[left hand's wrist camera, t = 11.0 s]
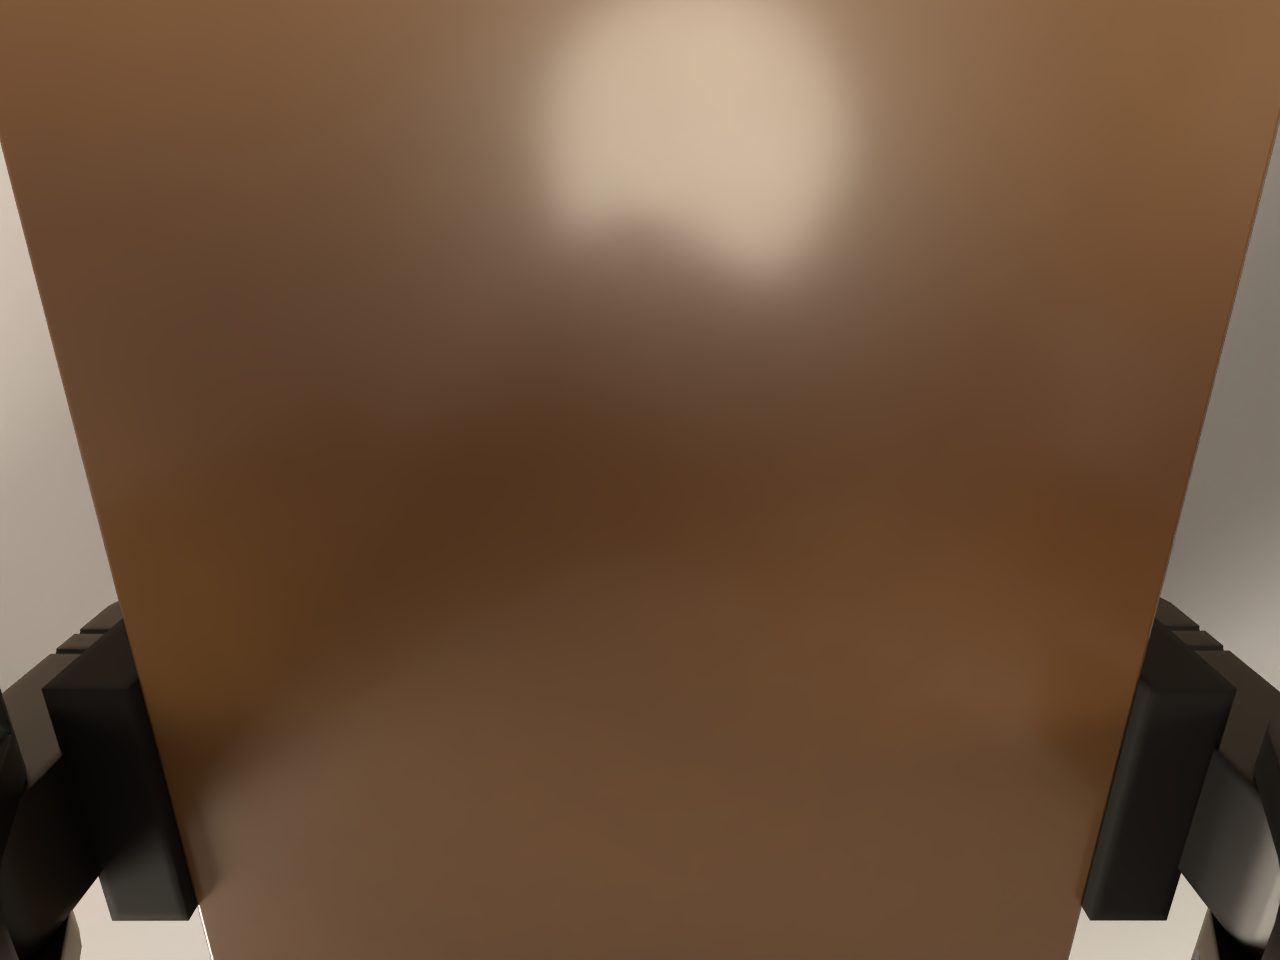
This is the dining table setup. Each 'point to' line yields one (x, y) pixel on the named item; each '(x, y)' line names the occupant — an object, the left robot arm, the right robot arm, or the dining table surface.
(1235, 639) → the dining table surface
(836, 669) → the wide beam
